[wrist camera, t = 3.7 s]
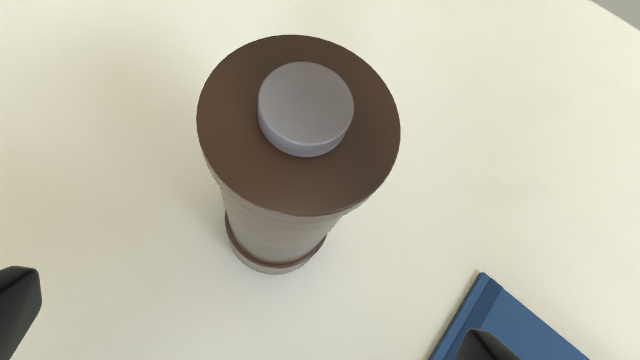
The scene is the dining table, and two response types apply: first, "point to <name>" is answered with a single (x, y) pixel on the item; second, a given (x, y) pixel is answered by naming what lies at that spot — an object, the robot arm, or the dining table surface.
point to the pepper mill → (294, 144)
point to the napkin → (504, 326)
